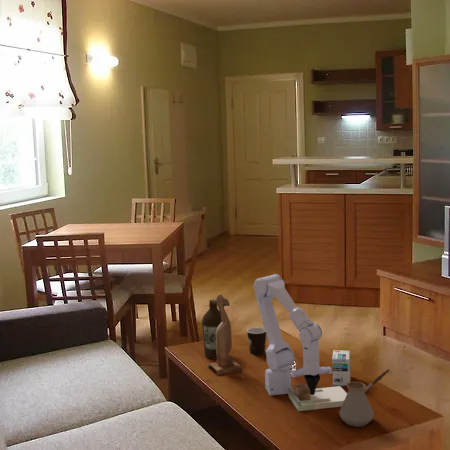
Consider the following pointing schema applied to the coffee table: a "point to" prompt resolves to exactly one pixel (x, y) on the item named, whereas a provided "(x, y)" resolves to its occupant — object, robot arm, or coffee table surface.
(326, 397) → the trap deck
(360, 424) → the coffee pot
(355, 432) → the coffee table surface
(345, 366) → the light bulb box
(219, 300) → the bird sculpture
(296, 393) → the walnut block
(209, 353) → the olive oil
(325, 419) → the coffee table surface
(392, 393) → the coffee table surface
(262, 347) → the coffee mug
